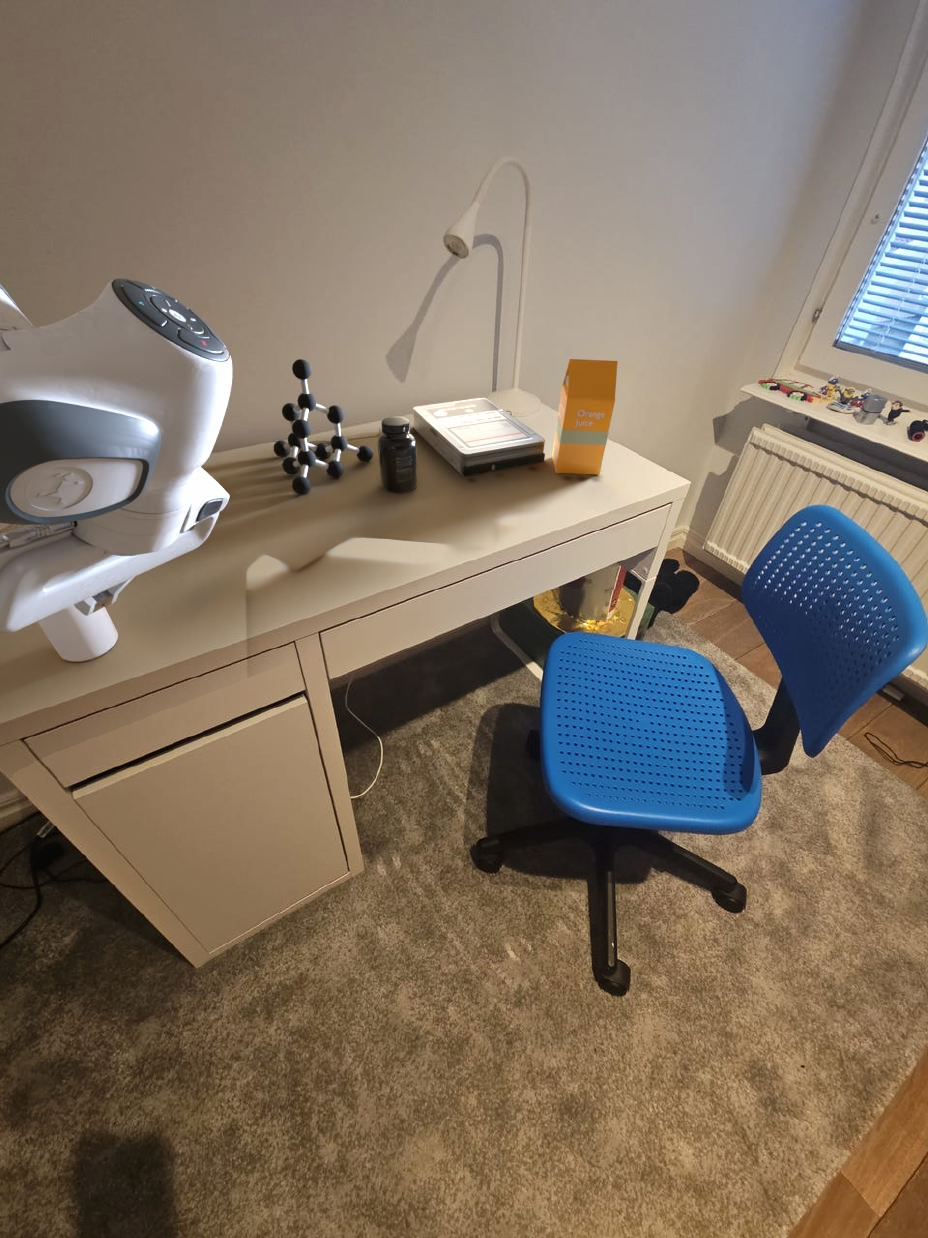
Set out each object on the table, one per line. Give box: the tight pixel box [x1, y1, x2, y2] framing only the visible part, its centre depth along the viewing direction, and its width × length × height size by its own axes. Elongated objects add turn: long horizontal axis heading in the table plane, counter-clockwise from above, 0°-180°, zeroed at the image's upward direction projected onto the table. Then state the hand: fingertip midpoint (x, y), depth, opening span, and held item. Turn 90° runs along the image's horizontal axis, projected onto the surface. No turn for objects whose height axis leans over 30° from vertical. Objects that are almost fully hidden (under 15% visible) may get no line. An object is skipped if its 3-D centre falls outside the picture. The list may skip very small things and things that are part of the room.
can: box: [37, 605, 119, 663], centre depth 62 cm, size 6×6×12 cm
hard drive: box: [412, 397, 546, 478], centre depth 115 cm, size 18×27×4 cm
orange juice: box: [551, 358, 618, 475], centre depth 103 cm, size 8×9×20 cm
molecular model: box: [273, 358, 374, 496], centre depth 98 cm, size 18×20×20 cm
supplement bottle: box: [376, 416, 418, 494], centre depth 96 cm, size 7×7×12 cm
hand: (94, 604), depth 50 cm, fingers closed
